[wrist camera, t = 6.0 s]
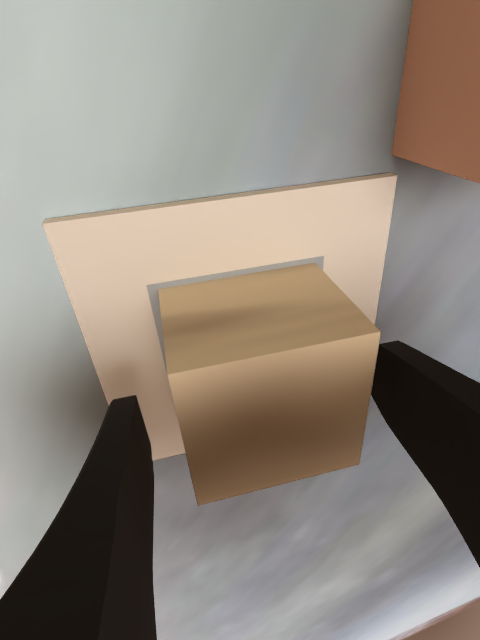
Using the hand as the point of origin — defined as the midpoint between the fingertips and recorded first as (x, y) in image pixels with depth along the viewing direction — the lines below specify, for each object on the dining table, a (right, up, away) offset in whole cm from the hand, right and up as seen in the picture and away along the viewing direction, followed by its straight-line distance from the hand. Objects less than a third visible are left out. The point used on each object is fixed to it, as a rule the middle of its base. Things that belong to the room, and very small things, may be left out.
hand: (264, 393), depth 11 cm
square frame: (-1, +2, +2) cm, 3 cm away
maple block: (-1, +1, +2) cm, 3 cm away
